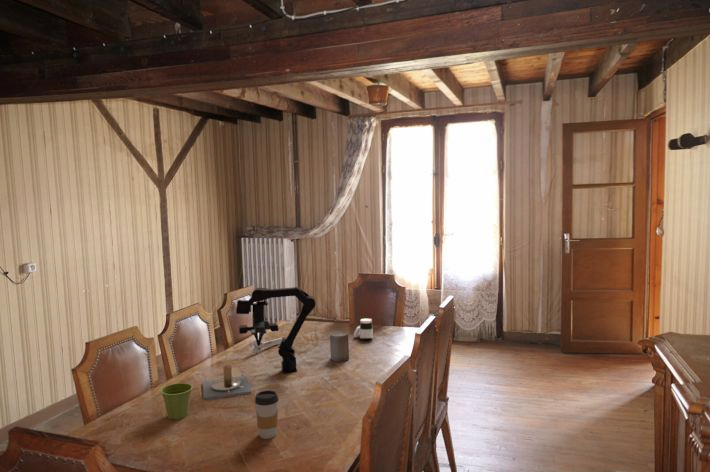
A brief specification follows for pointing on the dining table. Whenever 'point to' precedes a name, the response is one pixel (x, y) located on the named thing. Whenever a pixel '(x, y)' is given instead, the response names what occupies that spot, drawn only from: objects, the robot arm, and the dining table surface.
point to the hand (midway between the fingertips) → (258, 345)
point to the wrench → (263, 345)
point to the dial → (226, 381)
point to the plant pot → (177, 399)
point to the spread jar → (364, 330)
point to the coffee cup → (267, 413)
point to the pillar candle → (339, 346)
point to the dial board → (213, 394)
